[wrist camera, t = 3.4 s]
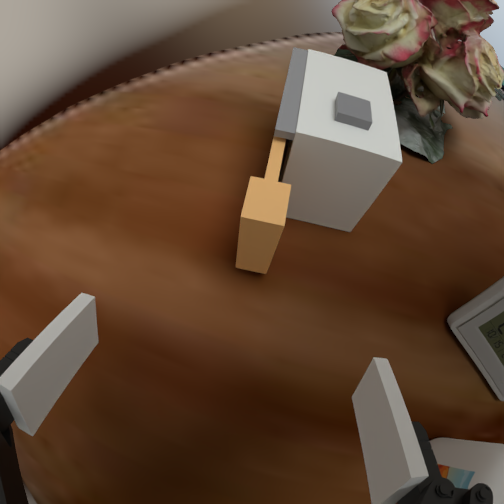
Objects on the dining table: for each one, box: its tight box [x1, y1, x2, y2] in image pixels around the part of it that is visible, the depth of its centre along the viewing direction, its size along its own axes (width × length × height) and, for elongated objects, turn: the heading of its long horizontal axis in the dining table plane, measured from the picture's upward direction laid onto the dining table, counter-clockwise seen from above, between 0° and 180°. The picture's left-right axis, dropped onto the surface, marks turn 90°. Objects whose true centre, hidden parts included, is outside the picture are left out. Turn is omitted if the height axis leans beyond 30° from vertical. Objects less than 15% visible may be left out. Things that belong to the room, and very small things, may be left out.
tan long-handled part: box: [236, 136, 291, 274], centre depth 29 cm, size 18×3×10 cm, turn 169°
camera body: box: [274, 48, 402, 232], centre depth 31 cm, size 15×11×14 cm
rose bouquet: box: [332, 0, 504, 164], centre depth 32 cm, size 26×29×30 cm
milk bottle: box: [429, 438, 504, 504], centre depth 15 cm, size 8×8×20 cm
